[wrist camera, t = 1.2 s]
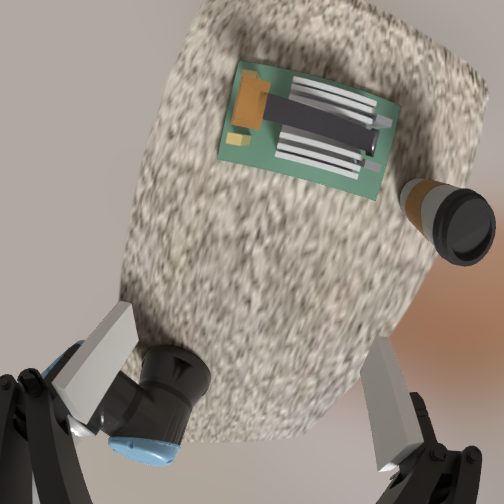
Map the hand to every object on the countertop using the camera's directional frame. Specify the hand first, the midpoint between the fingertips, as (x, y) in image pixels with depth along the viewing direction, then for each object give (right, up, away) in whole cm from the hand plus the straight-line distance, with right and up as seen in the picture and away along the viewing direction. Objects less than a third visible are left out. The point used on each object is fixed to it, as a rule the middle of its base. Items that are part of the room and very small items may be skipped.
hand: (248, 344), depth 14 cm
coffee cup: (+24, +13, +21) cm, 34 cm away
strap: (+6, +17, +10) cm, 21 cm away
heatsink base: (+8, +21, +19) cm, 29 cm away
